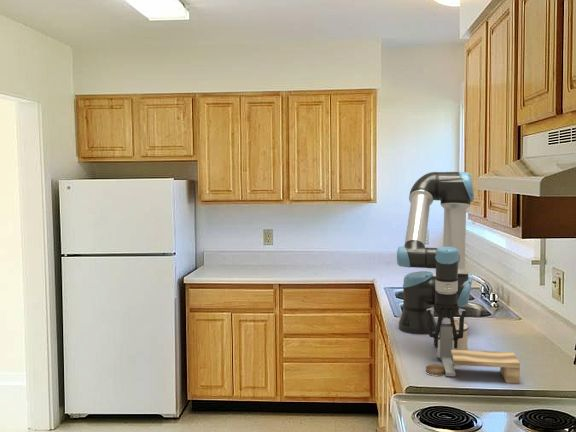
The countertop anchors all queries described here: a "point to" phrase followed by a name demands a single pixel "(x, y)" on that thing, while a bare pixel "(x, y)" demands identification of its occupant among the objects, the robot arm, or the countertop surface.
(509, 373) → the shelf
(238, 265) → the countertop surface
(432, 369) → the coaster
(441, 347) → the gray l-shaped block
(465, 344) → the teacup with lid
